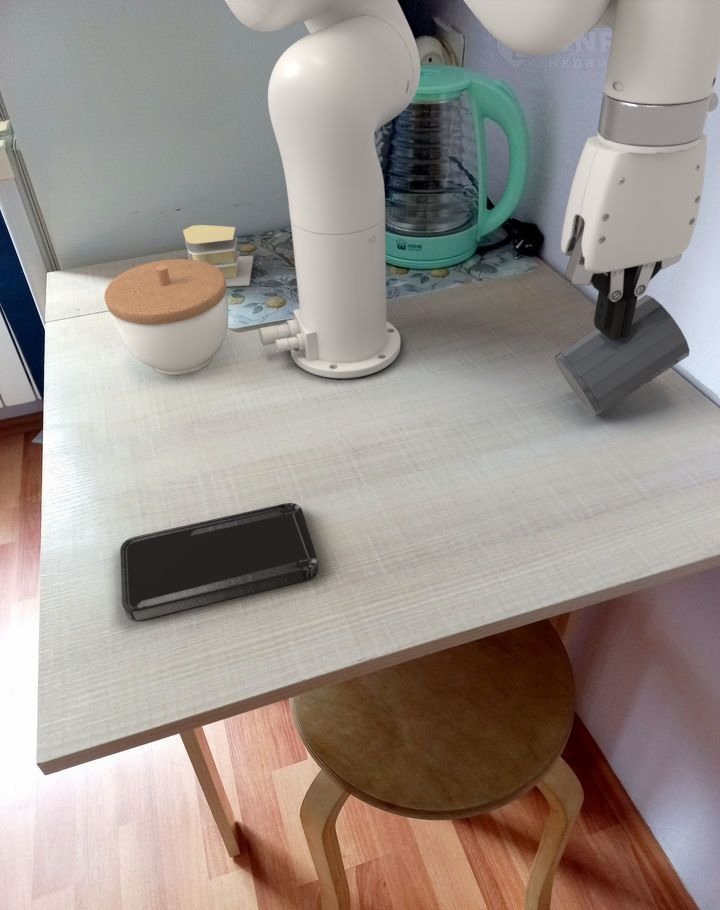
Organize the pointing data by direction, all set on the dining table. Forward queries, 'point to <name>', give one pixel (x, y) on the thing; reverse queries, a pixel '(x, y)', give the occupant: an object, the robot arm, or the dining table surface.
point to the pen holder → (623, 357)
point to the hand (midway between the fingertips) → (610, 331)
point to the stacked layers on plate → (219, 252)
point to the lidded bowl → (170, 313)
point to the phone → (215, 560)
